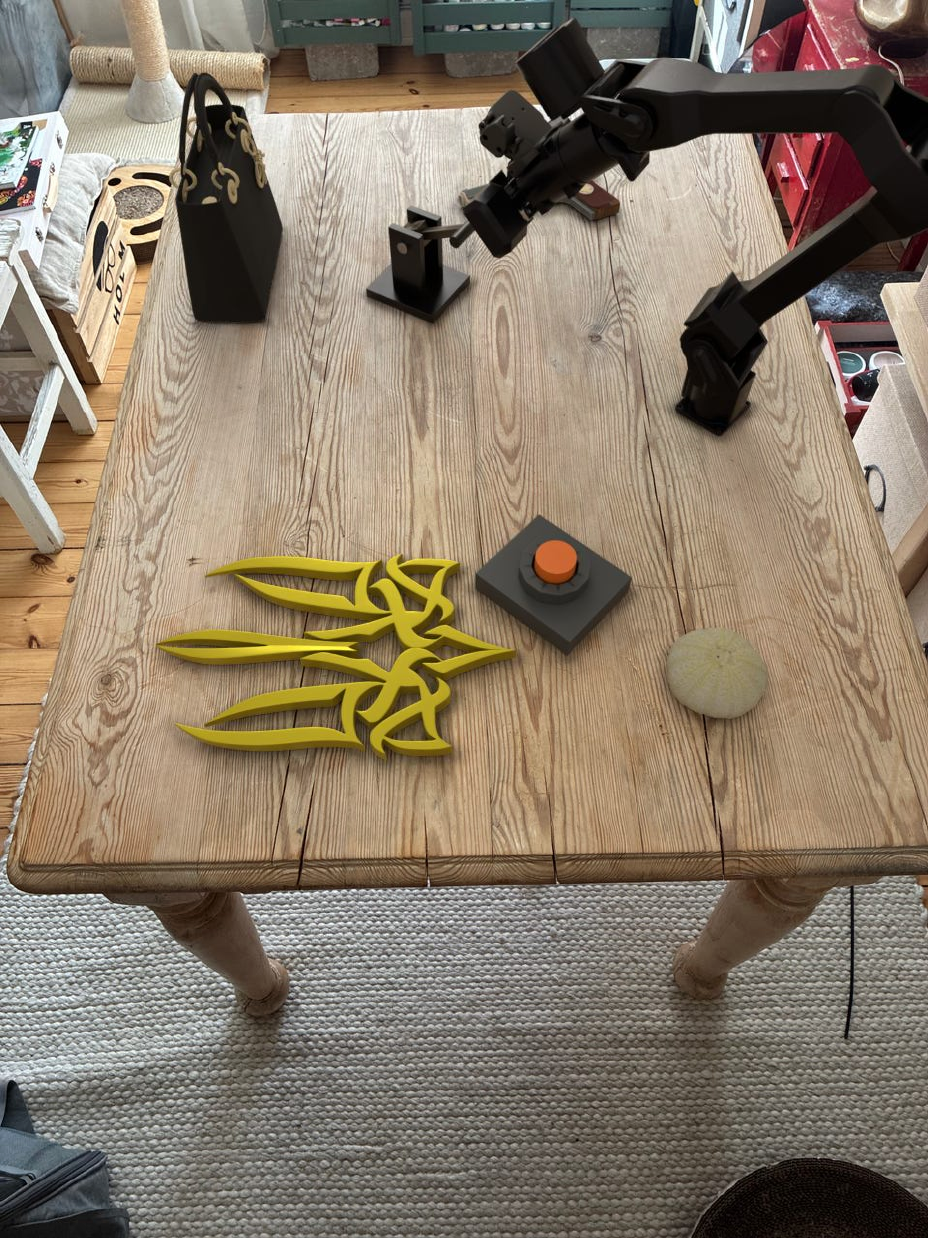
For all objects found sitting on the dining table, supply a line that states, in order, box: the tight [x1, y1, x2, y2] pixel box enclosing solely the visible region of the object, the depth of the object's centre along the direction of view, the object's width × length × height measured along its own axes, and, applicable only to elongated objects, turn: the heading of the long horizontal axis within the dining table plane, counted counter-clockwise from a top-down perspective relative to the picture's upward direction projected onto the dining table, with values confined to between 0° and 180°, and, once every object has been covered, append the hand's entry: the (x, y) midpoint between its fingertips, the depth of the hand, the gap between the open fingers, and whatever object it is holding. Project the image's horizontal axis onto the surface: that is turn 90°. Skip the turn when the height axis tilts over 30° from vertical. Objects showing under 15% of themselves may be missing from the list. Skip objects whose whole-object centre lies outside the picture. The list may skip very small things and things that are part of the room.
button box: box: [474, 514, 633, 657], centre depth 93 cm, size 12×10×4 cm
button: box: [535, 540, 577, 584], centre depth 91 cm, size 4×4×2 cm
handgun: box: [458, 180, 621, 221], centre depth 127 cm, size 2×20×12 cm
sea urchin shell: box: [665, 626, 769, 720], centre depth 88 cm, size 9×8×8 cm
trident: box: [155, 553, 517, 762], centre depth 90 cm, size 22×2×35 cm
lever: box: [403, 219, 476, 249], centre depth 110 cm, size 10×6×2 cm, turn 59°
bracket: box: [365, 205, 471, 324], centre depth 115 cm, size 10×9×10 cm
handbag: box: [168, 72, 284, 324], centre depth 110 cm, size 21×9×25 cm, turn 179°
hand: (481, 216), depth 105 cm, fingers closed
